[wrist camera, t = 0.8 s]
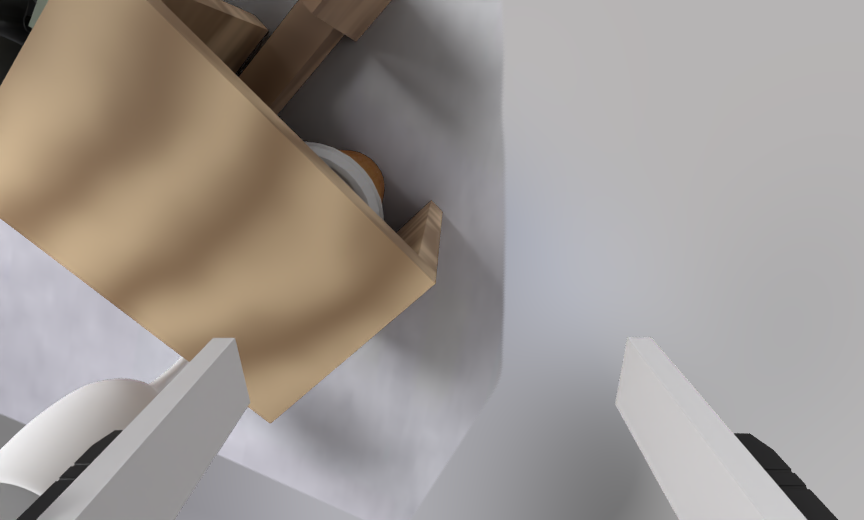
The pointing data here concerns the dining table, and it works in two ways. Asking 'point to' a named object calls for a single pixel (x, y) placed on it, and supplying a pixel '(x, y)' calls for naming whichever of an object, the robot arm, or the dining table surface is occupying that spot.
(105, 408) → the wineglass
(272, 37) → the crook
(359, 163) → the disposable coffee cup
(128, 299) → the wooden storage bin
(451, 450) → the dining table surface
